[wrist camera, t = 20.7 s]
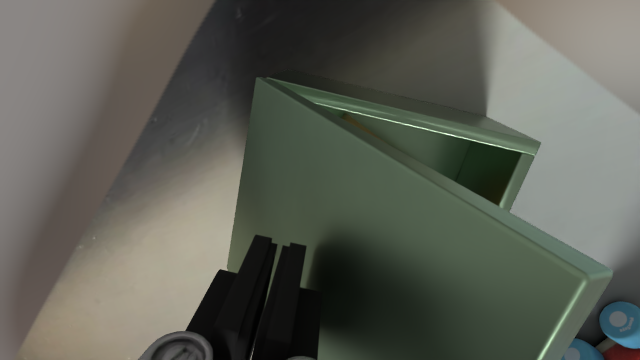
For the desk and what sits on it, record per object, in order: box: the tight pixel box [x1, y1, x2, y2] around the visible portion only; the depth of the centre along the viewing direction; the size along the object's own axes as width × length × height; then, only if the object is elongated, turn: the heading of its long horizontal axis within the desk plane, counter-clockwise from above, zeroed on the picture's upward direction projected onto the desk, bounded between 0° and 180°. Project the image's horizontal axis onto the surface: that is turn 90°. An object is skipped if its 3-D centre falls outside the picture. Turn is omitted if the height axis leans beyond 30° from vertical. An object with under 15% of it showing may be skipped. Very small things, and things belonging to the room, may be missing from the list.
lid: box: [227, 77, 613, 360], centre depth 12 cm, size 14×10×1 cm
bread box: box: [267, 69, 541, 212], centre depth 22 cm, size 13×10×7 cm
